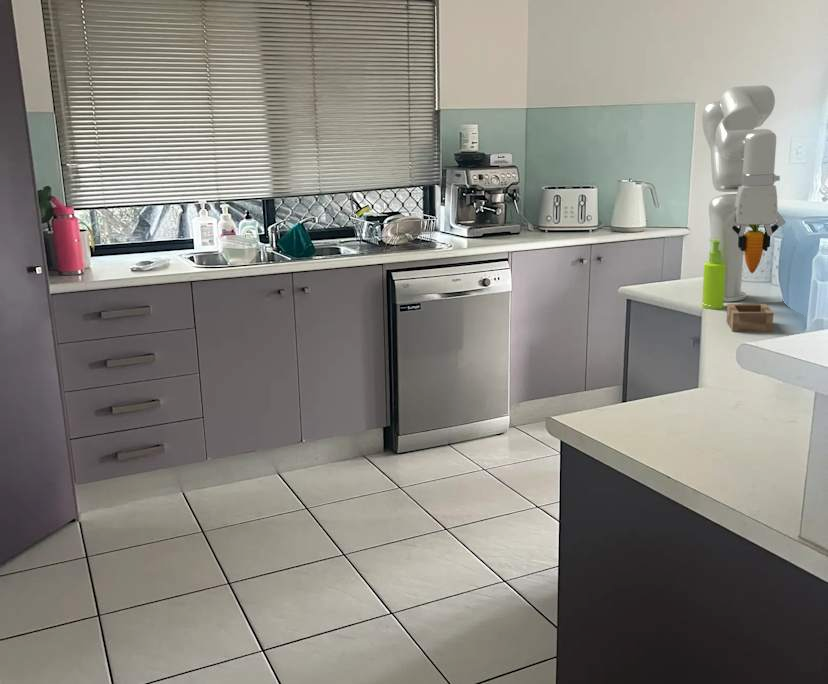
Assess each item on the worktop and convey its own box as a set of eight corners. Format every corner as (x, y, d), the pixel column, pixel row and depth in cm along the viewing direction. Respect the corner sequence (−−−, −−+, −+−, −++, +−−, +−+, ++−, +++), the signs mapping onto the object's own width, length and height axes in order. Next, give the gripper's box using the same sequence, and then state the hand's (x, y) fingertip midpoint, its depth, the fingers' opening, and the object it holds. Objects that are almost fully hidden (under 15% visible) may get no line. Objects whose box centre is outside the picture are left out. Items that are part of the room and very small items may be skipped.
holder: (726, 321, 233) (727, 304, 232) (764, 321, 231) (765, 303, 230) (732, 331, 224) (733, 313, 222) (772, 331, 222) (773, 313, 220)
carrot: (763, 275, 220) (767, 218, 216) (743, 275, 221) (747, 218, 217) (760, 271, 225) (763, 215, 221) (740, 271, 226) (743, 215, 222)
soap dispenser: (719, 303, 252) (722, 237, 246) (725, 308, 246) (729, 241, 240) (699, 303, 253) (702, 238, 247) (704, 309, 246) (707, 242, 241)
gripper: (789, 178, 218) (784, 247, 223) (721, 180, 221) (717, 248, 227) (796, 181, 211) (791, 252, 216) (725, 183, 214) (721, 253, 219)
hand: (753, 249), depth 221 cm, fingers closed on carrot, 5 cm apart
